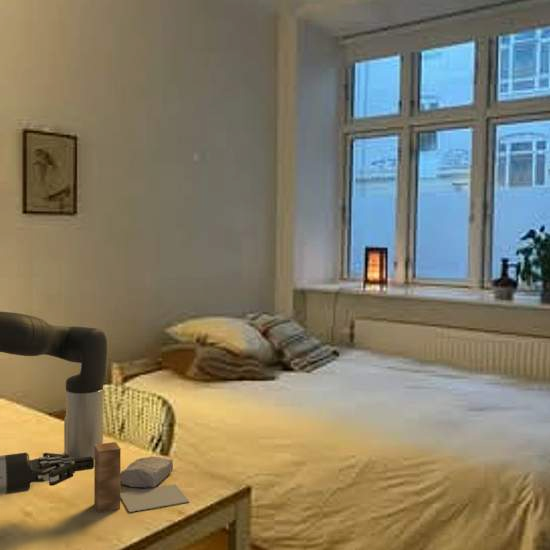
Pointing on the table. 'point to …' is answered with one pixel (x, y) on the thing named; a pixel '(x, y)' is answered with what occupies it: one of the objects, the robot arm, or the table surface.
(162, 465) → the stone block
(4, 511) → the table surface
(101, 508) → the walnut block
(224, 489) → the table surface
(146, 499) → the felt pad
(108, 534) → the table surface
